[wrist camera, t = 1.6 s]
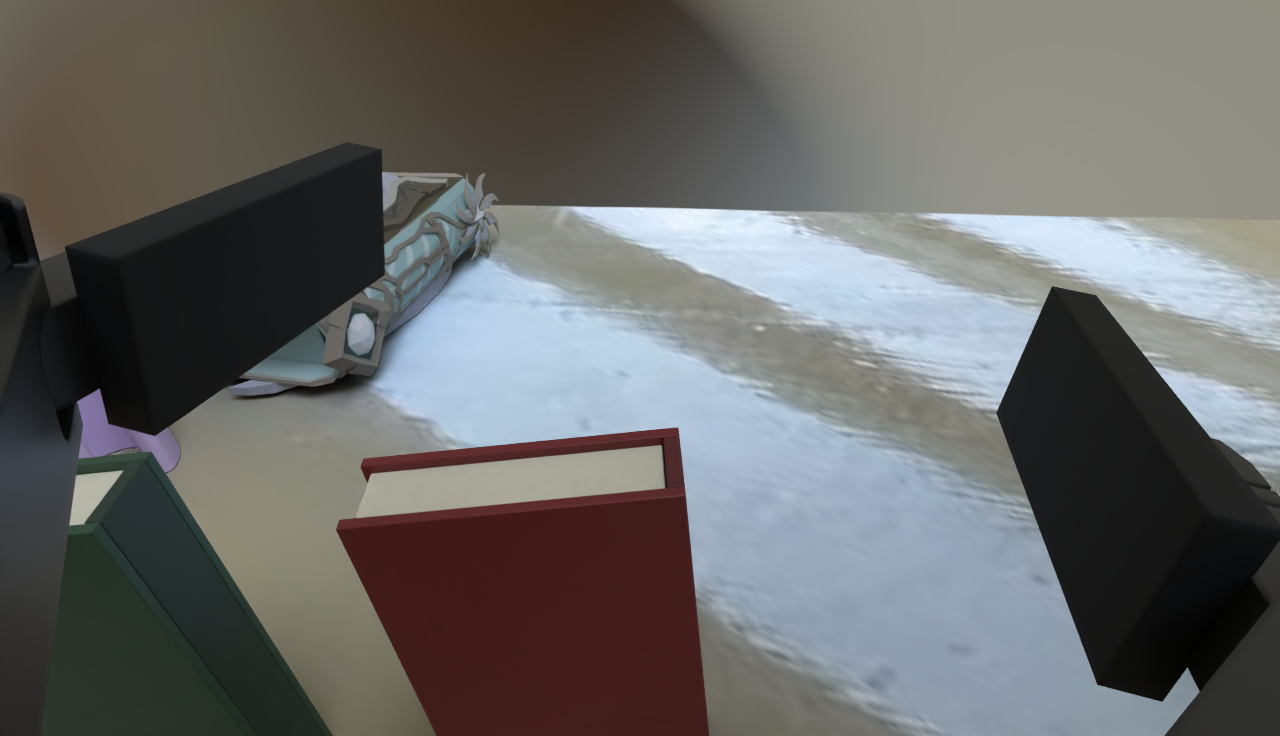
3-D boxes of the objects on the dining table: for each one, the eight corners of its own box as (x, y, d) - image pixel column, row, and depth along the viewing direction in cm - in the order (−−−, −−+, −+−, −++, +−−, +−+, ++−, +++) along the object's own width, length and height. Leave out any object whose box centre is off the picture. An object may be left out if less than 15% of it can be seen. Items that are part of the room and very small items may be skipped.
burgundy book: (713, 779, 31) (685, 495, 21) (467, 800, 31) (335, 529, 22) (705, 709, 33) (678, 426, 24) (477, 728, 33) (363, 458, 24)
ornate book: (356, 430, 53) (527, 225, 75) (304, 315, 47) (506, 130, 69) (115, 397, 60) (337, 218, 82) (42, 293, 54) (302, 131, 76)
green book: (309, 818, 31) (91, 532, 21) (47, 840, 31) (-286, 569, 22) (334, 737, 34) (151, 450, 24) (93, 757, 34) (-184, 484, 24)
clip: (226, 428, 53) (181, 346, 49) (52, 560, 45) (-19, 473, 41) (58, 376, 62) (8, 302, 58) (-116, 478, 53) (-190, 400, 49)
